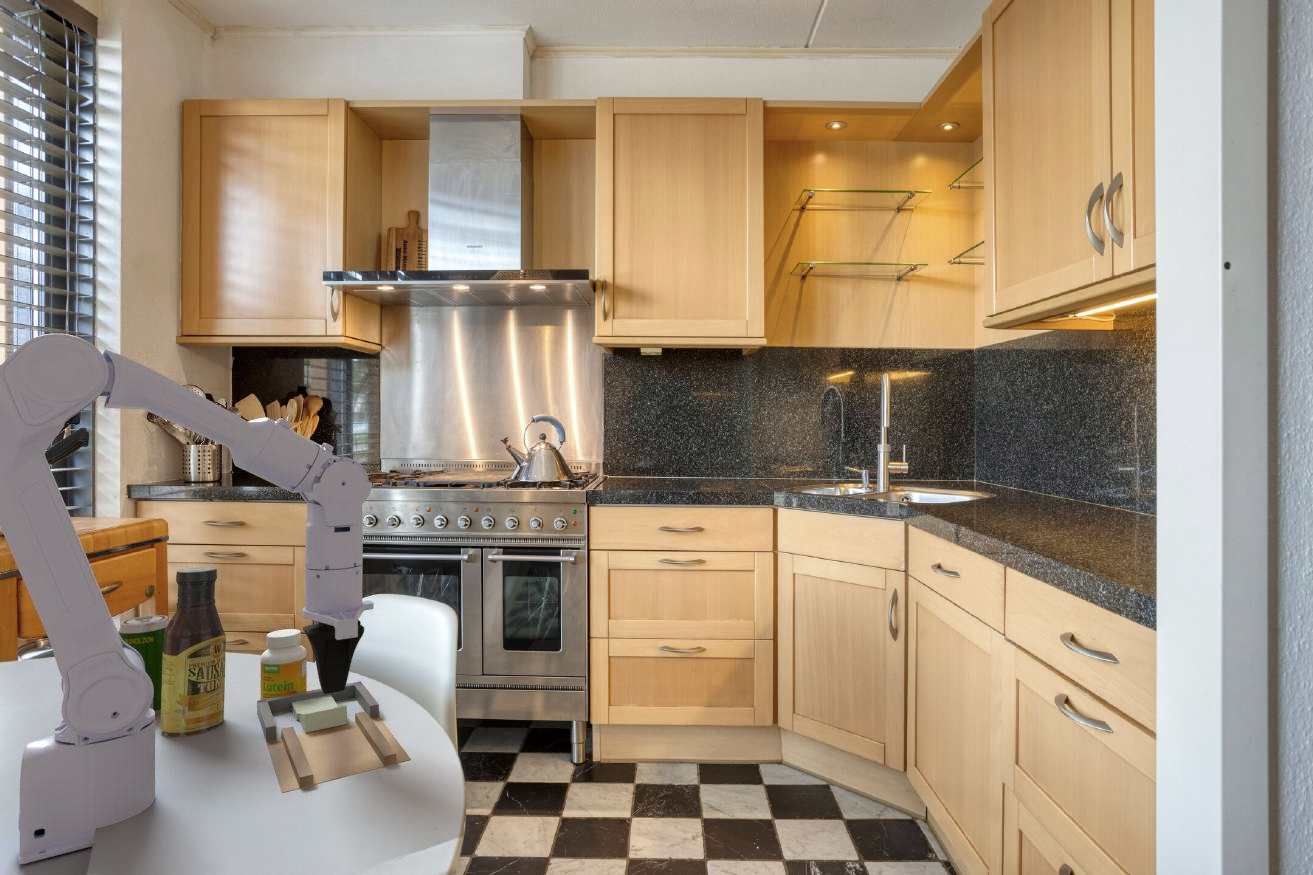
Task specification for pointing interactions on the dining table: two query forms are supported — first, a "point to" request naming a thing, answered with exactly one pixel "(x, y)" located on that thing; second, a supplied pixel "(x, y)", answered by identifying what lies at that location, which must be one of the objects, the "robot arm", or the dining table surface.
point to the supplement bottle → (283, 665)
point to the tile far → (312, 705)
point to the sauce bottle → (193, 658)
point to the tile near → (323, 718)
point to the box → (285, 702)
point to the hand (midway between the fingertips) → (333, 690)
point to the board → (333, 752)
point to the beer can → (148, 648)
